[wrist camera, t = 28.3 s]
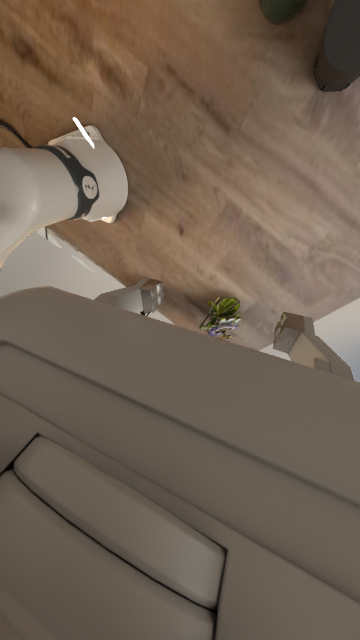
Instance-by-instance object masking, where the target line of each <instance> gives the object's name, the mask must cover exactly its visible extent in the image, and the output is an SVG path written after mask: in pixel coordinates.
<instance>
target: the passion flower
mask: <svg viewBox="0 0 360 640" xmlns="http://www.w3.org/2000/svg"><path fill="white" fill-rule="evenodd" d="M219 298H220V297H218V298H217V299H216V300H215V301H213V302H212V301H208V304H209V306H210V307H211V309H210V311H209V314H208V316H209V315H211V314H214V315H215V316H214V317H213V318H212V319H211V321H210V322H208V324H207V325H206V326H203V323H204V322H205V320H206V319H207V318H208V316H207V317H206V318H205V320H204V321H203V323H202V324H201V325H200V331H201V329H204V330H205V331H207V332H208V335H209V336H210V335H212V336H213V335H214V336H216V335H218V334H221V333H223V335H224V336H223V337H221V338H218V339H221V340H226V339H229V338H231V335H227V336H226V335H225V333H226V331H227V330H232V329H236V327H237V326H240V325H238V324H237V323H238V322H239V321H240V320H241V319H242V318H240V317H238V315H239V314H240V313H241V311H240V312H239V313H237V314H235V315H233V314H234V313H235V312H236V311H237V310H238V308H239V307H240V301H238V303H236V304H235V302H236V301H237V298H224V299H222V300H221V301H220V302H219V303H218V305H217V306H215V304H214V303H216V302H217V300H218V299H219ZM232 305H234V306H233V307H231V306H232ZM230 307H231V308H230ZM228 309H229V310H228ZM214 312H215V313H214ZM223 315H224V316H230V315H232V316H230V317H227V318H221V317H219V316H223ZM216 319H218V321H219V323H217V324H215V322H216Z"/></svg>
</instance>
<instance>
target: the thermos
mask: <svg viewBox="0 0 360 640" xmlns="http://www.w3.org/2000/svg"><path fill="white" fill-rule="evenodd" d="M307 2H308V0H260V5H261V9H262V12H263V14H264V16H265V18H266V19H267V20H268V21H269V22H270V23H273V24H283V23H286V22H288V21H289V20H291V19H292V18H293V17H295V16H296V15H297V14H298V13H299V12H300V11H301V10H302V8H303V7H304V6H305V4H306V3H307Z"/></svg>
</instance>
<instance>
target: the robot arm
mask: <svg viewBox="0 0 360 640" xmlns="http://www.w3.org/2000/svg"><path fill="white" fill-rule="evenodd" d="M73 120H74V121H75V123H76V124H77V126H78V127H79V129H78V130H76V131H73V132H71V133H68V134H66V135H63V136H61V137H58V138H56V139H53V140H51V141H49V143H48V145H42V146H37V147H35V148H30V147H29V146H28V145H27V144H26V143H25V142H24V141H23V140H22V139H21V137H20V136H19V135H17V134H16V133H15V132H14V131H13V130H12V129H10V128H9V127H8V126H6V125H4V124H2V123H0V127H3V128H5V129H7V130H8V131H10V132H11V133H12V134H13V135H14V136H15V137H17V138H18V139H19V140H20V142H21V143H22V144H23V145H24V146H25V147H26V148H4V147H1V148H0V271H1V268H2V266H3V264H4V262H5V260H6V259H7V257H8V256H9V255H10V253H11V252H12V251H13V250H14V249H15V248H16V247H17V246H18V245H19V244H20V243H21V242H22V241H23V240H24V239H25V238H26V237H28V236H29V235H30V234H32V233H33V232H35V231H36V230H38V229H40V228H42V227H45V226H48V225H50V224H53V223H56V222H59V221H62V220H77V219H80V218H82V219H83V220H88V221H90V222H92V221H96V220H103V221H106V222H108V223H112V222H114V221H115V218H116V215H117V213H118V212H119V211H120V210H122V208H123V207H124V205H125V203H126V201H127V196H128V182H127V177H126V173H125V170H124V167H123V165H122V163H121V161H120V159H119V157H118V156H117V154H116V153H115V152H114V150H113V149H112V148H111V147H110V146H109V145H108V144H107V143H106V142H105V141H104V140H103V138H102V136H101V134H100V132H99V131H98V129H97V128H96V127H95V126H94V125H89V126H86V127H84V128H83V127H82V126H81V124H80V123H79V121H78V120H77V118H73ZM89 135H90V136H89ZM163 288H164V283H163V282H162V281H158V280H154V279H151V278H146V277H144V278H143V279H141V280H140V281H139V282H138V283H137V284H135V285H134V286H133V287H132V286H130V287H126V288H122V289H119V290H115V291H111V292H107V293H103V294H101V295H100V296H98V297H97V298H96V299H94V300H92V299H88V298H85V297H82V296H79V295H76V294H72V293H69V292H66V291H63V290H60V289H57V288H54V287H50V286H43V287H35V288H29V289H23V290H19V291H15V292H12V293H9V294H7V295H4V296H2V297H0V640H360V383H359V382H356V381H354V379H353V375H352V372H351V369H350V367H349V366H348V365H347V364H346V363H345V362H344V361H343V360H342V359H341V358H340V357H339V356H338V355H337V354H336V353H335V352H334V351H333V350H332V349H331V348H330V347H329V346H327V344H325V343H324V342H323V341H322V340H321V339H320V338H319V337H318V336H315V332H314V326H313V320H312V318H310V317H305V316H300V315H296V314H291V313H287V312H283V314H282V316H281V321H280V322H278V324H277V326H276V328H275V332H274V337H275V340H274V346H273V349H276V350H279V351H282V352H285V353H288V355H289V357H290V358H291V360H292V361H288V360H285V359H282V358H279V357H276V356H273V355H269V354H266V353H263V352H260V351H256V350H253V349H250V348H247V347H244V346H240V345H237V344H234V343H231V342H227V341H224V340H221V339H218V338H214V337H211V336H208V335H205V334H202V333H198V332H195V331H192V330H189V329H185V328H182V327H179V326H176V325H172V324H169V323H166V322H163V321H160V320H156V319H153V318H150V317H147V316H144V315H140V314H137V313H139V312H141V311H143V310H145V311H149V312H153V313H154V312H155V311H156V309H157V308H158V305H160V304H161V303H162V302H163V300H164V296H165V295H164V291H163Z"/></svg>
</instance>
